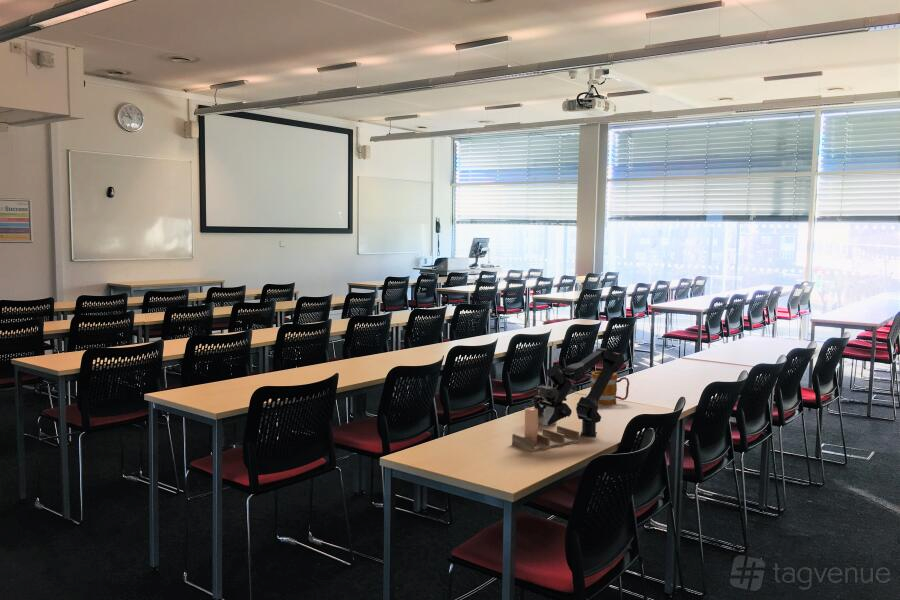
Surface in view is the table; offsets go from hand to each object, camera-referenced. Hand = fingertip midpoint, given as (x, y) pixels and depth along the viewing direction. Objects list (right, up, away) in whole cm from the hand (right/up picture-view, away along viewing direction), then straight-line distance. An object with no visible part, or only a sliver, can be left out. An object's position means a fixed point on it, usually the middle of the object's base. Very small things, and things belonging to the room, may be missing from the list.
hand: (540, 422), depth 295 cm
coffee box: (+7, -6, +37) cm, 38 cm away
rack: (+3, -9, +3) cm, 10 cm away
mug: (+45, -4, +79) cm, 91 cm away
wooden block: (-4, -8, -2) cm, 9 cm away
